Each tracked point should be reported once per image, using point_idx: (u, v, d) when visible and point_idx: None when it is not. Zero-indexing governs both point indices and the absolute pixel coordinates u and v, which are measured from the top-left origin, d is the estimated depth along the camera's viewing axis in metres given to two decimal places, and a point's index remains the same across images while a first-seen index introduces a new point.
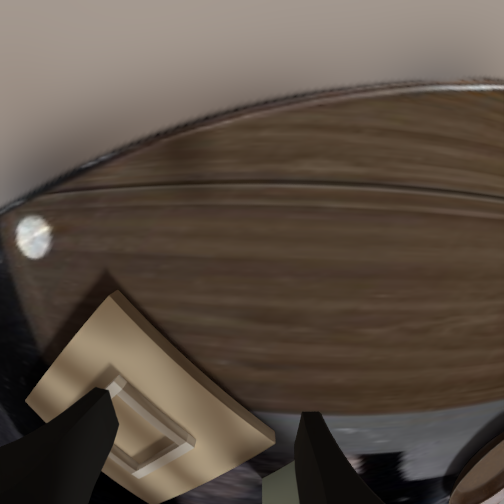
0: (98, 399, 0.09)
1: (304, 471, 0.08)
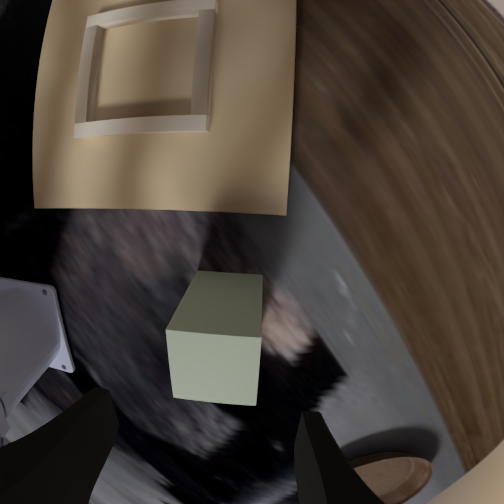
0: (98, 399, 0.09)
1: (304, 471, 0.08)
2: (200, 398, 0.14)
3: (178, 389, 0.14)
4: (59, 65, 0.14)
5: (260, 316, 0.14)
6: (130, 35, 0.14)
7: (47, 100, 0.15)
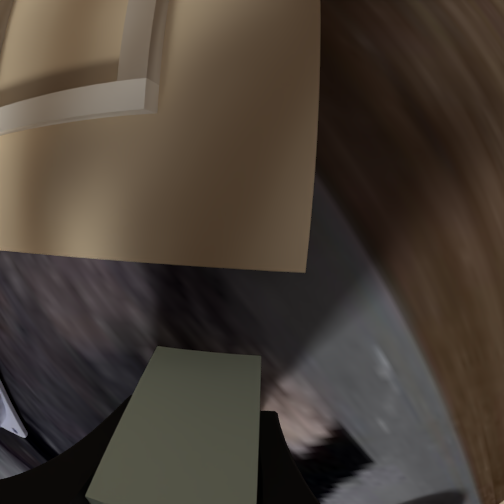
0: None
1: None
2: None
3: None
4: None
5: (255, 470, 0.07)
6: None
7: None
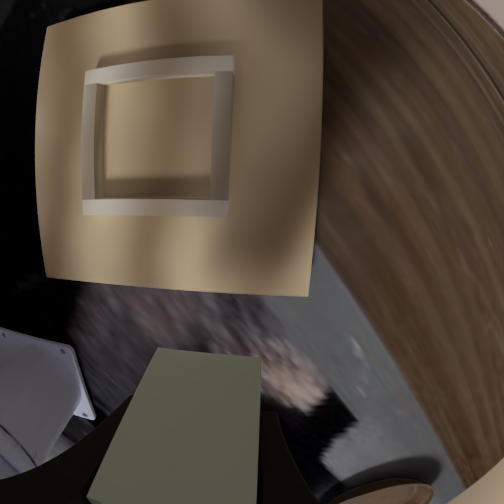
0: None
1: None
2: None
3: None
4: (58, 124, 0.14)
5: (254, 471, 0.07)
6: (136, 95, 0.14)
7: (49, 165, 0.15)
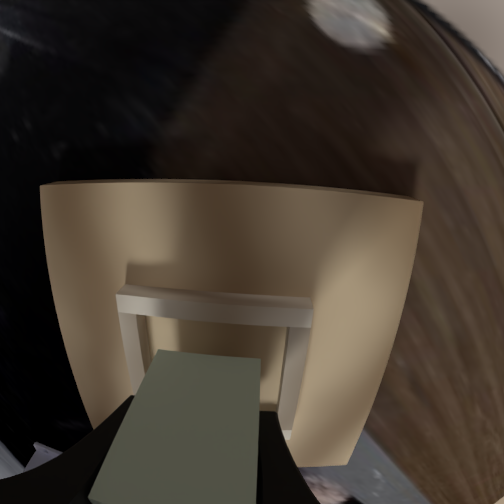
0: None
1: None
2: None
3: None
4: (88, 329, 0.13)
5: (254, 472, 0.07)
6: (186, 323, 0.13)
7: (86, 363, 0.14)
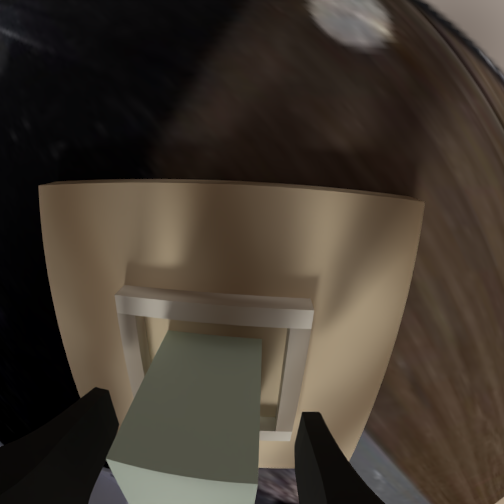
0: (98, 399, 0.09)
1: (304, 471, 0.08)
2: None
3: None
4: (87, 330, 0.13)
5: (257, 434, 0.08)
6: (186, 324, 0.13)
7: (85, 364, 0.14)
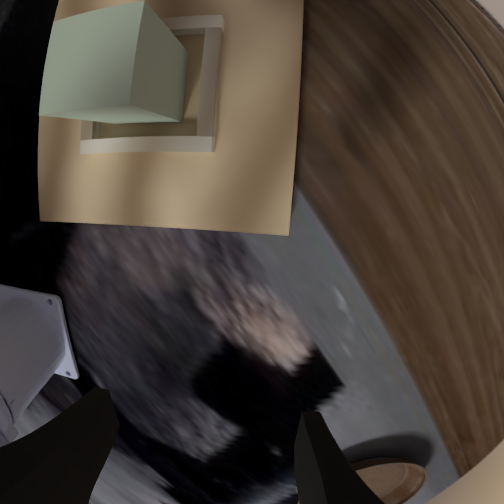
0: (98, 399, 0.09)
1: (304, 471, 0.08)
2: (66, 107, 0.09)
3: (45, 99, 0.09)
4: None
5: (158, 18, 0.09)
6: None
7: None
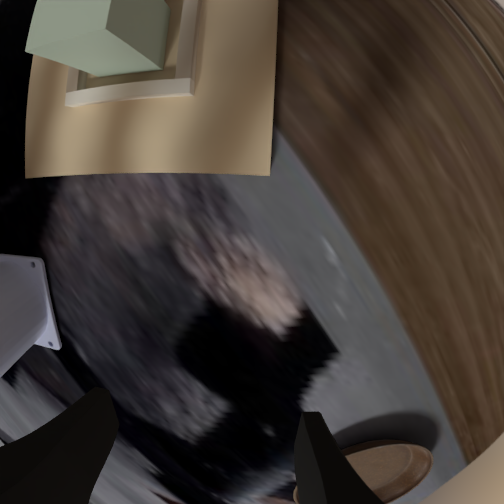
0: (98, 399, 0.09)
1: (304, 471, 0.08)
2: (49, 40, 0.08)
3: (32, 36, 0.08)
4: None
5: None
6: None
7: (42, 74, 0.15)
